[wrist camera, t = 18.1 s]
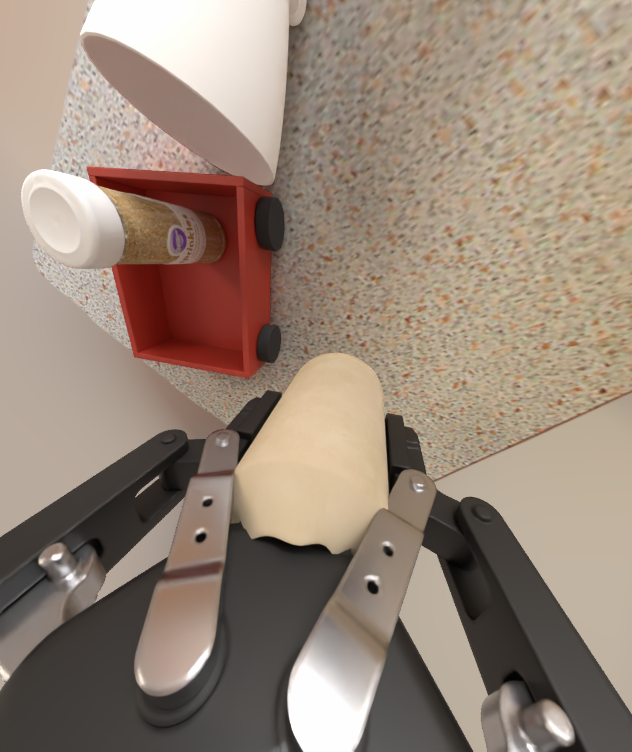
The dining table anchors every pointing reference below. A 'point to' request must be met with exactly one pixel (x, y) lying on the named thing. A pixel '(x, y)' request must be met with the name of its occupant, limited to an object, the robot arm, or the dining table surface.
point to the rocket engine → (202, 72)
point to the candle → (318, 459)
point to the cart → (197, 277)
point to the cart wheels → (271, 238)
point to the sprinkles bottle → (114, 225)
